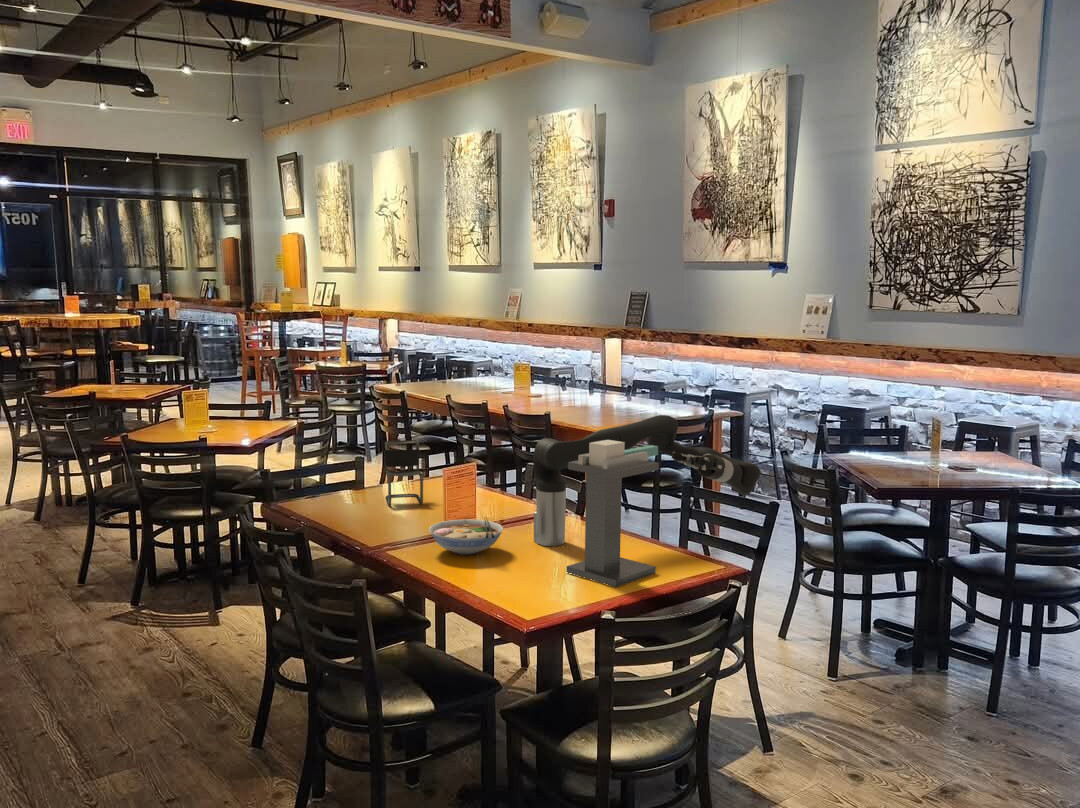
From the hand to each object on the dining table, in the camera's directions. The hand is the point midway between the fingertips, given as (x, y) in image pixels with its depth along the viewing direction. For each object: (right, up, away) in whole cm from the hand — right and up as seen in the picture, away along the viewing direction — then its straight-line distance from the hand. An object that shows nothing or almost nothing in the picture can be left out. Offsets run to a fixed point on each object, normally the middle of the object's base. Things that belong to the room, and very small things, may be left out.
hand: (683, 457), depth 274 cm
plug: (-19, 0, -14) cm, 23 cm away
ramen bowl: (-66, -30, +7) cm, 72 cm away
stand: (-23, -32, -13) cm, 42 cm away
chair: (-95, -21, +73) cm, 121 cm away
